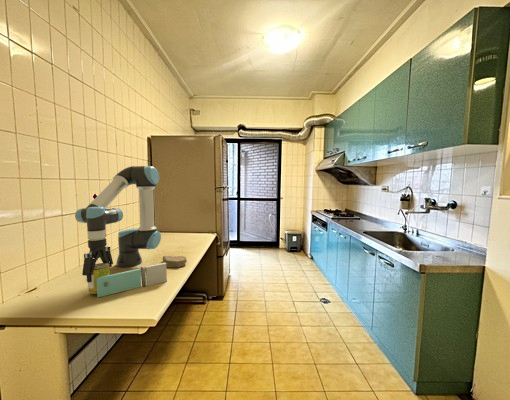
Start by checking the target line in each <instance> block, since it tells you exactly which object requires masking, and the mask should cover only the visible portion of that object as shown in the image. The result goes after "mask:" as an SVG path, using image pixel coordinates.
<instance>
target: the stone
mask: <svg viewBox="0 0 510 400" xmlns="http://www.w3.org/2000/svg"><path fill="white" fill-rule="evenodd" d="M187 262H188V261H187V257H186V256H184V255H179V256H178V255H176V256H174V255H173V256H172V255H163V256H162V263H166V269H167V268H168V269H169V268H172V269H173V268H182V267H184V266H185V265H186V263H187Z"/></svg>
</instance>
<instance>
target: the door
mask: <svg viewBox="0 0 510 400" xmlns="http://www.w3.org/2000/svg"><path fill="white" fill-rule="evenodd" d="M96 283H97V294H96V296H97V297H96V298H101V297H105V296H108V295H113V294H116V293H120V292H124V291H129V290H133V289H136V288H141V287H142V279H141V268H136V270H135V269H131V271H130V270H126V272H125V271H123V272H117V273H113V274H112V273H111V274H110V275H107V276H102V277H97V278H96Z"/></svg>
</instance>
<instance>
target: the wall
mask: <svg viewBox="0 0 510 400" xmlns="http://www.w3.org/2000/svg"><path fill="white" fill-rule="evenodd" d="M136 269H137V268H136ZM136 269H134V270H136ZM131 270H132V269H131ZM131 270H129V271H131ZM126 271H127V270H126ZM126 271H124V272H126ZM140 271H141V287H142V288H145V287H149V286H153V285H157V284H162V283H165V282H168V278H167V277H168V276H167V274H168V273H167V267H166V263H163V262H161V263H157V264H156V263H155V264H152V265H150V264H149V265H146V266H141V267H140Z"/></svg>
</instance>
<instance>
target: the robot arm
mask: <svg viewBox="0 0 510 400" xmlns="http://www.w3.org/2000/svg"><path fill="white" fill-rule="evenodd" d="M159 181H160V174H159V172H158V170H157V168H156V167H154V166H151V165H138V166H137V165H135V166H127V167H125V168H124V169H122V170H120V171H119V172H117V173H116V174H115V175H114V176H113V177H112V181H111V182H110V183H109V184H108V185H107V186H106V187H105V188H104V189H103V190H102V191H101V192H100V193H99V194H98V195H97V196H96V197H95V198H94V199H93V200H92V201H91V202H90V203H89V204H88V206H86V207H85V208H84V207H83V208H78V209H77V210H76V212H74V213H75V214H74V218H75V221H77V222H78V223H82V224H83V223H84V224H86V229H87V231H86V232H87V247H88V248H89V251H88V252H87V253H84V254H83V266H82V272H81V274H82V276H84V277H85V276H86V282H87V289H89V288H91V289H94V288H95V287H94V275H92V273H93V270H94V267H95V264H97V261H99V260H98V259H100V260H101V263H108V264H109V269H110V270H111V268H112V267H113V264H114V261H113V257H112V252H111V246H107V244H108V243H107V227H106V225H110V224H114V223H115V224H116V223H118V222H120V221H122V220H123V218H124V213H123V211H122V209H120V208H117V207H113V208H108V207H109V206H110V205H111V204H112V202H113V201H114V200H115V199H116V198H117V197H118V195H119V194H120V193H121V192H122V191H123V190H124V189H127V188H128V187H129V186H130V185H135V187H136V189H138V201H139V205H138V206H139V227H138V228H137V227H134V228H128V229H122V230H119V232H118V234H117V241H118V256H117V258H116V262H115V265H116V266H117V267H118V268H130V267H135V266H138V265H141V264H142V263H143V260H142V256H141V253H140V251H139V250H155V249H157V248H158V247H159V245H160V243H161V240H162V234H161V232H160V231H158V228H157V226H155V206H154V205H155V204H154V198H155V197H154V190H155V188H156V185H157V184H159ZM89 272H90V273H89Z"/></svg>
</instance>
